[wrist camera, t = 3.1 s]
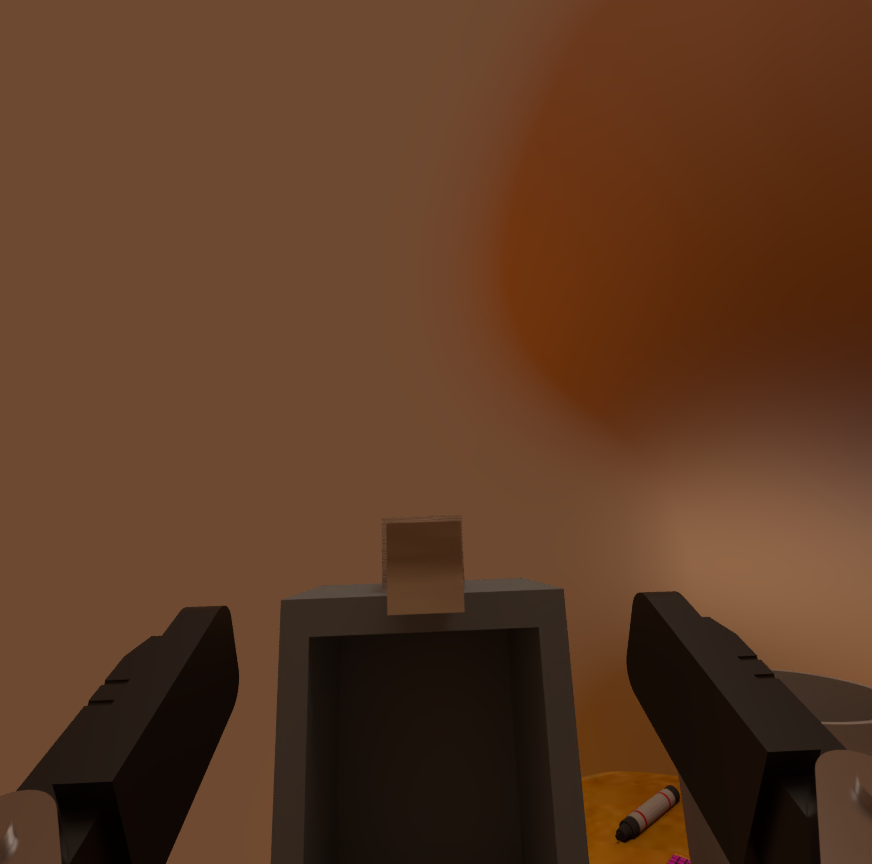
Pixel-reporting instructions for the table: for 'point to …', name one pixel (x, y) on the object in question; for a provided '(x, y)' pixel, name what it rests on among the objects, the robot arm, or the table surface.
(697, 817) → the cylinder vase
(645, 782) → the table surface
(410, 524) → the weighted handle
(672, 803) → the marker
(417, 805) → the tall shelf
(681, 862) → the orange wooden platform
